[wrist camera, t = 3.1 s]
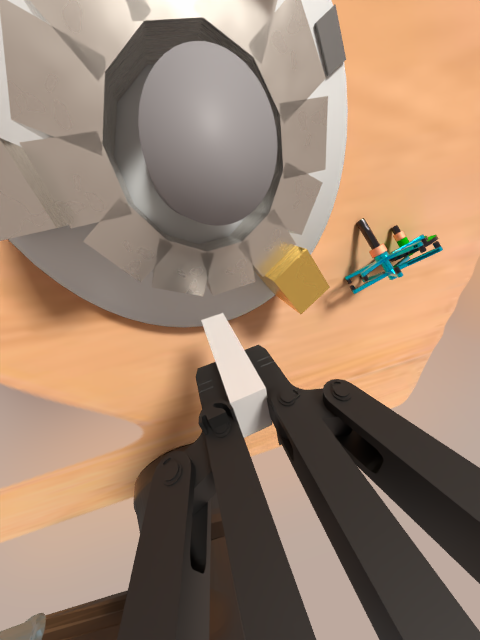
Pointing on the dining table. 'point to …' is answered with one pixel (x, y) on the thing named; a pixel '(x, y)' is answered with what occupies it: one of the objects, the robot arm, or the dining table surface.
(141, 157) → the white shallow round piece
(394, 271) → the stick construction toy
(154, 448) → the dining table surface
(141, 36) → the grey segmented ring
